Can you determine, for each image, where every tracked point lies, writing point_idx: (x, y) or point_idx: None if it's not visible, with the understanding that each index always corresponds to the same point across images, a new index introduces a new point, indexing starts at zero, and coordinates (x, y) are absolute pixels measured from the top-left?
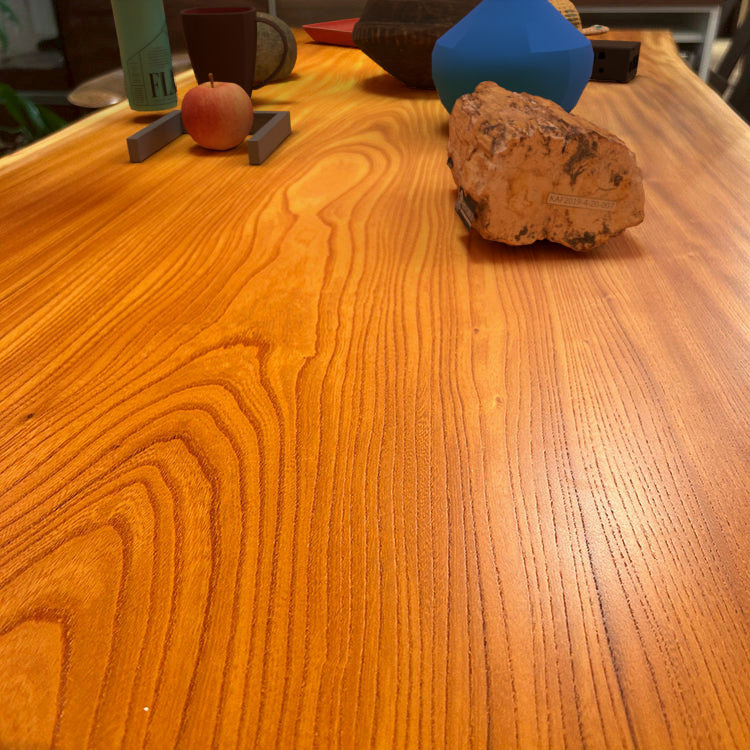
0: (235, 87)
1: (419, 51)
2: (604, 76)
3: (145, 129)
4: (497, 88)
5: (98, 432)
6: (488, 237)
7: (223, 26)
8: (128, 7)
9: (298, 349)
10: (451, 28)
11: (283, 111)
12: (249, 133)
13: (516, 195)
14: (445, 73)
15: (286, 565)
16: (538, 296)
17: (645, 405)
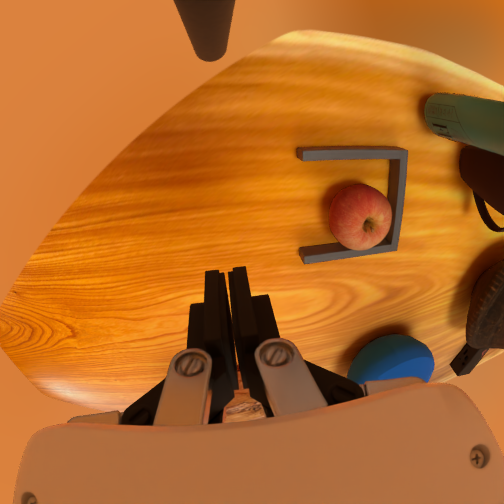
0: (363, 247)
1: (472, 308)
2: (457, 358)
3: (336, 154)
4: (256, 416)
5: (22, 311)
6: None
7: (498, 196)
8: (491, 126)
9: (78, 344)
10: (410, 371)
11: (396, 246)
12: None
13: None
14: (374, 363)
15: (25, 354)
16: (146, 391)
17: (103, 402)
